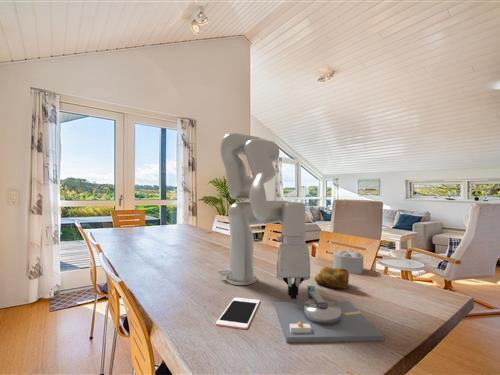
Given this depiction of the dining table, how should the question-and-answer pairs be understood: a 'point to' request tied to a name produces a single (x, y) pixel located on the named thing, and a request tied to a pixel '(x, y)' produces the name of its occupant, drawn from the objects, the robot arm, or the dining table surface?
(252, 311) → the cell phone
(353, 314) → the stand
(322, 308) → the dial
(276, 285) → the dining table surface
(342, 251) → the lumpy-topped squat cylinder
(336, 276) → the brown irregular lump
